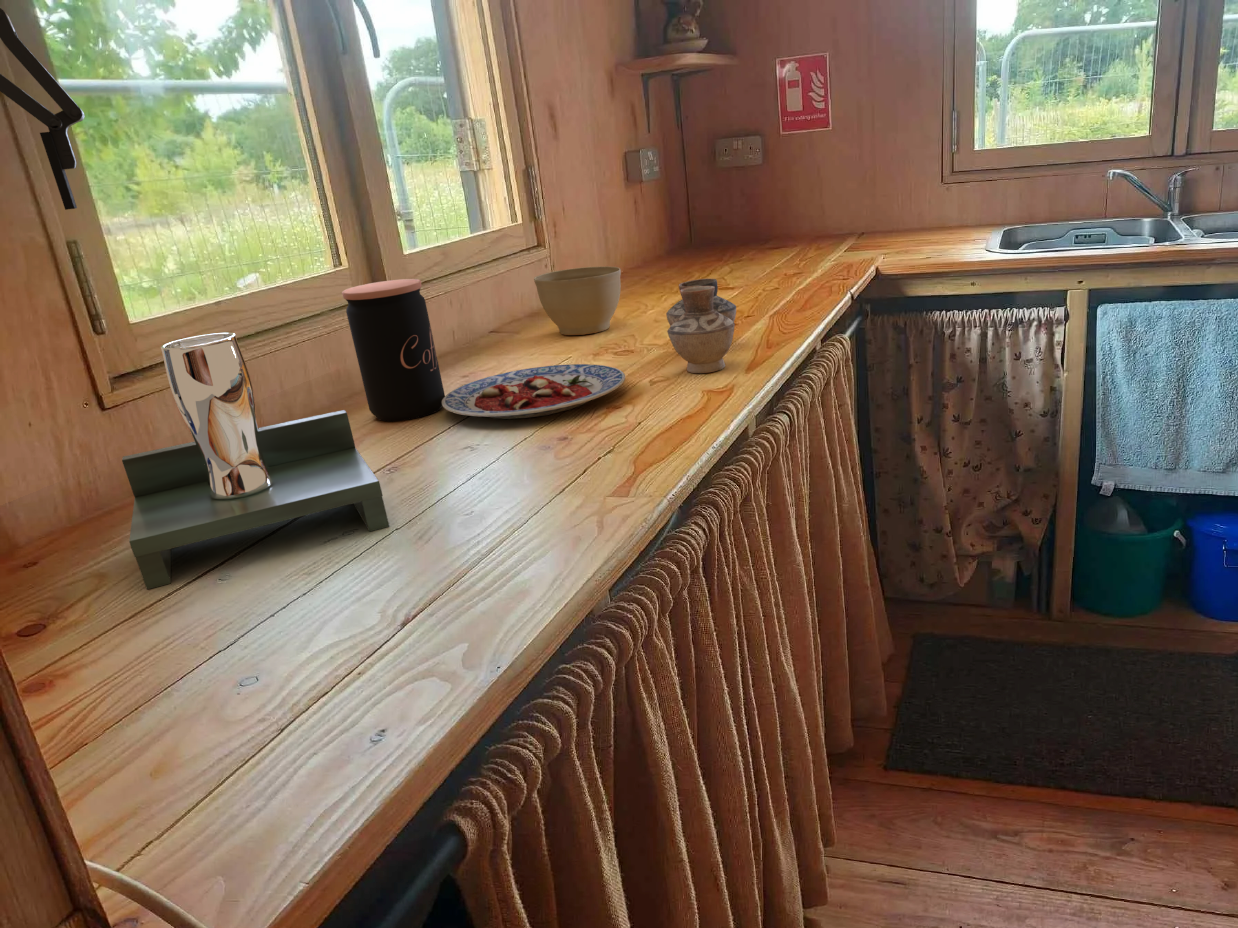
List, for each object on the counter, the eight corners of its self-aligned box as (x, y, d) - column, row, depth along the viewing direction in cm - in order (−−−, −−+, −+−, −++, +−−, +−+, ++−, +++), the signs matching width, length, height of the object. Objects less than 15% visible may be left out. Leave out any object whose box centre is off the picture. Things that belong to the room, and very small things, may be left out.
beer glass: (238, 476, 101) (195, 333, 95) (293, 476, 99) (253, 330, 93) (189, 501, 95) (140, 350, 89) (247, 502, 93) (200, 347, 87)
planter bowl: (592, 341, 174) (583, 280, 170) (525, 339, 182) (515, 281, 178) (644, 322, 186) (637, 264, 182) (579, 321, 194) (571, 266, 190)
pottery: (668, 381, 140) (658, 298, 136) (671, 345, 163) (662, 273, 159) (746, 373, 140) (738, 289, 135) (738, 338, 163) (731, 265, 158)
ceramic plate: (465, 443, 122) (460, 420, 120) (430, 402, 144) (426, 382, 143) (654, 401, 130) (652, 380, 129) (593, 369, 153) (591, 350, 151)
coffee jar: (421, 422, 134) (392, 290, 127) (356, 423, 137) (325, 295, 130) (460, 400, 143) (435, 276, 136) (399, 401, 146) (371, 281, 140)
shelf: (150, 537, 101) (122, 456, 98) (363, 486, 110) (344, 409, 107) (146, 591, 88) (114, 499, 85) (390, 528, 96) (369, 441, 93)
